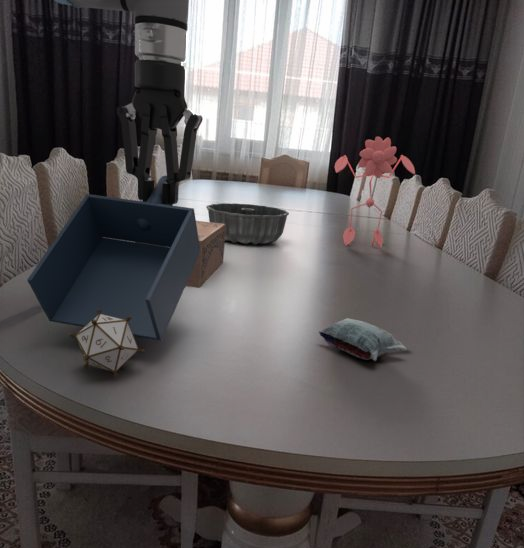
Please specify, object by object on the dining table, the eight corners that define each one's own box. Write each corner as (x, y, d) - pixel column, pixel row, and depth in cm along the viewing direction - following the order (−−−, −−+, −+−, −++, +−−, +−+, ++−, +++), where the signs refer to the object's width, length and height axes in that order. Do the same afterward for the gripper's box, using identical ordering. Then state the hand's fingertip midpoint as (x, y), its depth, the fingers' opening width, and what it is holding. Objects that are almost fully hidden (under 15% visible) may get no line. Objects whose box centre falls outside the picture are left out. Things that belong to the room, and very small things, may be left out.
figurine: (322, 241, 180) (336, 132, 167) (394, 247, 183) (414, 140, 170) (330, 250, 166) (347, 132, 153) (408, 256, 169) (431, 141, 155)
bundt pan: (198, 243, 157) (200, 209, 153) (210, 229, 181) (211, 199, 177) (285, 252, 157) (289, 218, 153) (285, 237, 181) (288, 207, 177)
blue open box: (161, 341, 72) (149, 300, 66) (49, 321, 75) (26, 279, 68) (220, 207, 90) (215, 164, 83) (127, 195, 92) (115, 152, 85)
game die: (77, 332, 61) (50, 322, 68) (104, 394, 64) (74, 378, 72) (142, 303, 66) (110, 297, 73) (164, 362, 69) (130, 350, 76)
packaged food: (350, 336, 92) (354, 309, 90) (405, 360, 84) (411, 331, 82) (315, 345, 87) (319, 317, 85) (370, 371, 79) (376, 341, 77)
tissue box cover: (169, 256, 137) (170, 217, 133) (223, 262, 136) (225, 224, 132) (135, 279, 113) (135, 233, 110) (199, 287, 112) (202, 241, 108)
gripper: (99, 53, 75) (102, 219, 84) (203, 62, 72) (195, 232, 81) (123, 61, 81) (123, 213, 90) (218, 69, 79) (209, 225, 88)
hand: (157, 222), depth 86 cm, fingers closed on blue open box, 3 cm apart
